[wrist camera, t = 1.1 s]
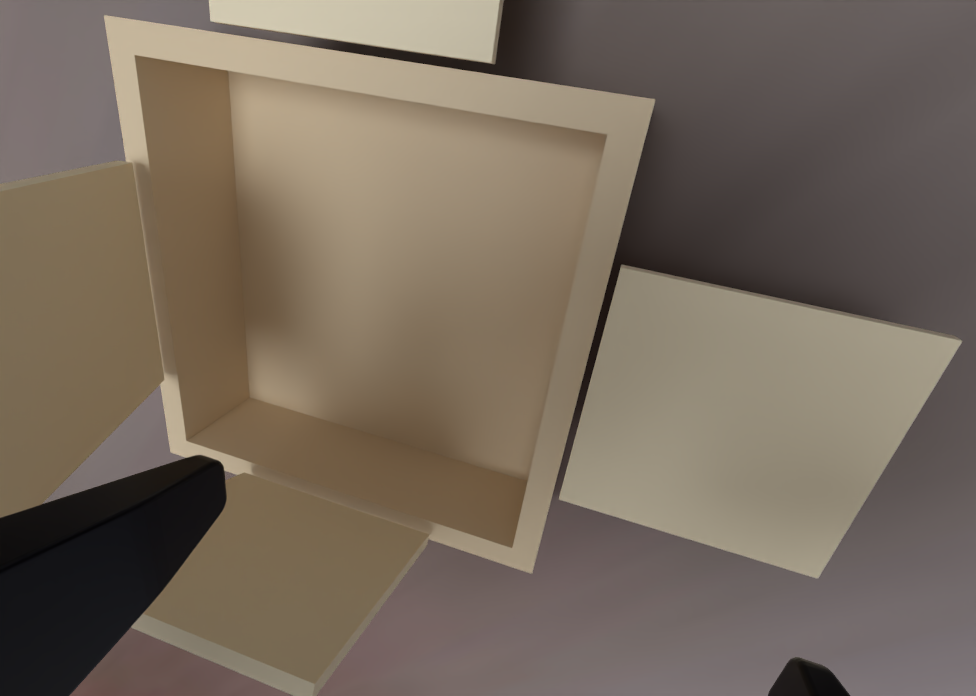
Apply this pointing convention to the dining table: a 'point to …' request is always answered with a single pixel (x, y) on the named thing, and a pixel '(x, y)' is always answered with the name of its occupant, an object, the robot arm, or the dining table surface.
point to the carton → (472, 298)
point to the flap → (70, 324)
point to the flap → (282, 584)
